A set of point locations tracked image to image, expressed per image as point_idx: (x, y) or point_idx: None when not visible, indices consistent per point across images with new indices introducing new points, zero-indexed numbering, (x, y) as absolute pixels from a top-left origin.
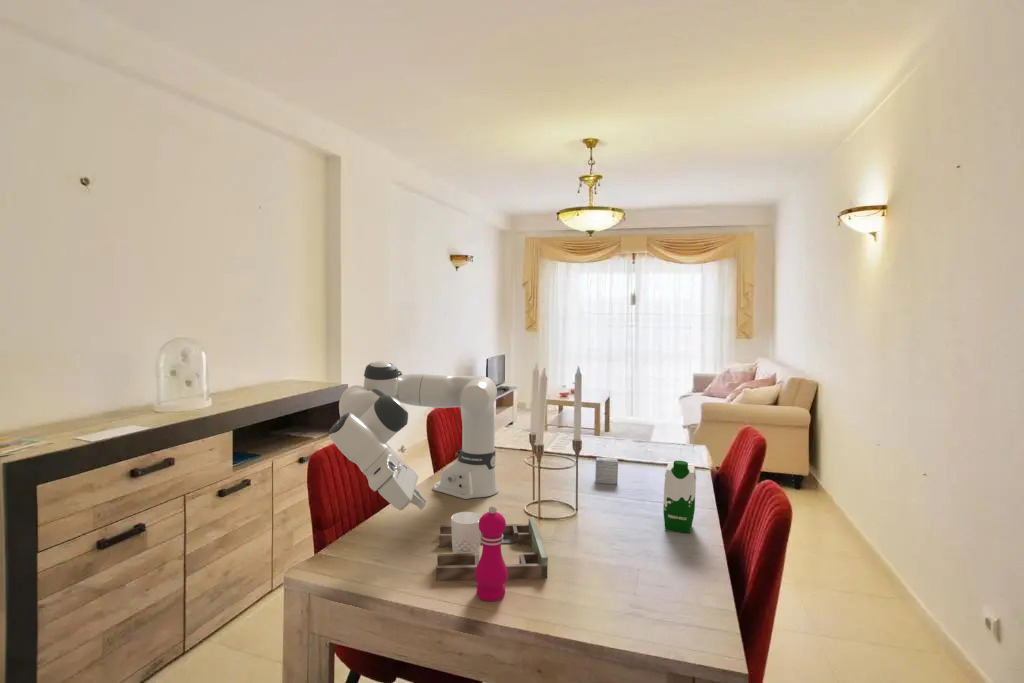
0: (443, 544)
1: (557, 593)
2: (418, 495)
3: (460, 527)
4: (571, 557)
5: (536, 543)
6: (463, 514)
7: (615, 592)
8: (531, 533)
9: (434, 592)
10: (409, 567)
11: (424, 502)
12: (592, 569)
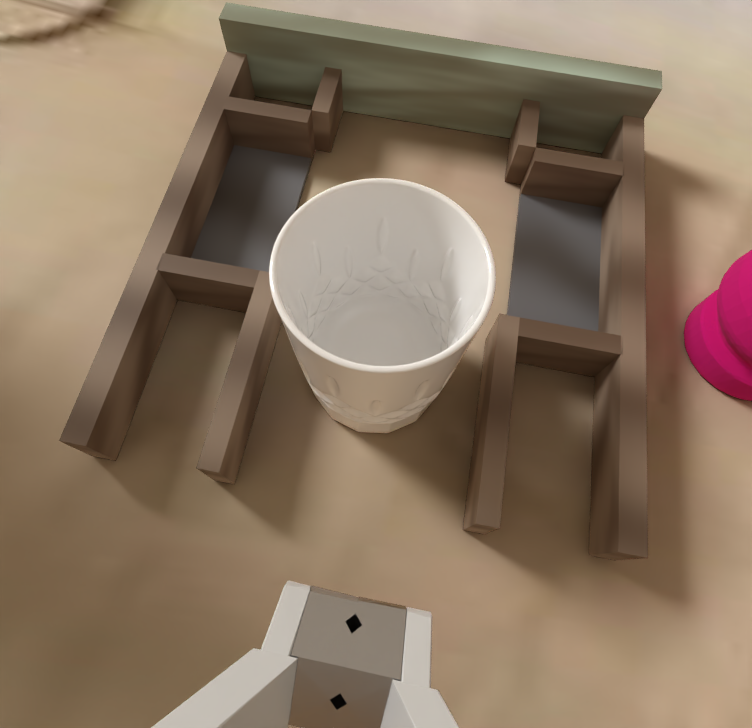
0: (239, 458)
1: (727, 144)
2: (257, 712)
3: (473, 338)
4: (474, 33)
5: (493, 72)
6: (280, 276)
7: (718, 12)
8: (334, 68)
9: (728, 586)
10: (448, 695)
11: (403, 621)
12: (569, 12)
